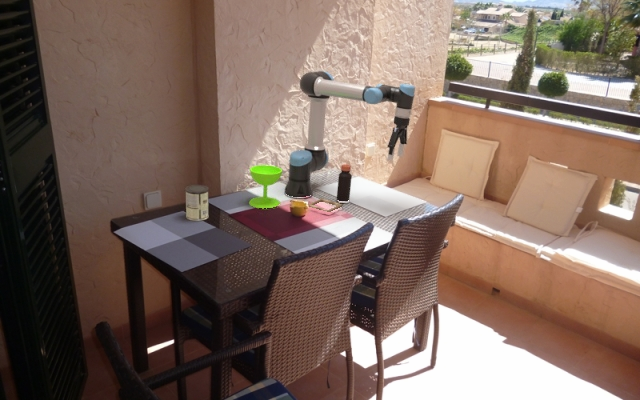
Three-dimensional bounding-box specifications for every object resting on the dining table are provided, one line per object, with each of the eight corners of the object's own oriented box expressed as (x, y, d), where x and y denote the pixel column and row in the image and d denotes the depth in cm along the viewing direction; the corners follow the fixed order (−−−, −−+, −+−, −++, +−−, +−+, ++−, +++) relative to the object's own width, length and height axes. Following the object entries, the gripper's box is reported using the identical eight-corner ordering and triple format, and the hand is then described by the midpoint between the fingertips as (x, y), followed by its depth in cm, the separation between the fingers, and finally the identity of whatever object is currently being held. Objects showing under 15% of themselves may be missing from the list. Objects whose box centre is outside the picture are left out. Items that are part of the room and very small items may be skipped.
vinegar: (334, 200, 274) (337, 164, 268) (346, 199, 277) (349, 163, 270) (339, 204, 269) (342, 167, 262) (351, 203, 271) (354, 167, 264)
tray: (307, 209, 258) (307, 204, 258) (321, 202, 269) (321, 198, 268) (328, 215, 252) (329, 211, 251) (342, 209, 262) (342, 204, 262)
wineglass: (278, 210, 254) (280, 175, 248) (246, 207, 254) (247, 173, 248) (281, 199, 269) (283, 166, 263) (251, 197, 269) (252, 164, 263)
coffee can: (190, 211, 244) (189, 183, 239) (211, 214, 243) (211, 185, 238) (182, 219, 234) (182, 190, 229) (204, 222, 233) (204, 192, 229)
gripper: (400, 120, 238) (392, 164, 245) (417, 115, 259) (410, 156, 266) (385, 117, 241) (378, 161, 248) (404, 113, 262) (397, 153, 269)
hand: (394, 158), depth 257 cm, fingers open, 13 cm apart
